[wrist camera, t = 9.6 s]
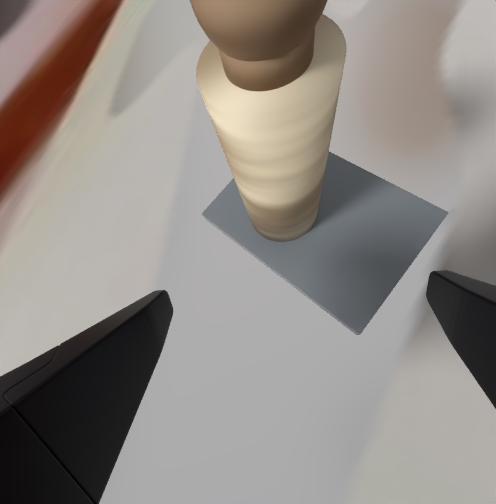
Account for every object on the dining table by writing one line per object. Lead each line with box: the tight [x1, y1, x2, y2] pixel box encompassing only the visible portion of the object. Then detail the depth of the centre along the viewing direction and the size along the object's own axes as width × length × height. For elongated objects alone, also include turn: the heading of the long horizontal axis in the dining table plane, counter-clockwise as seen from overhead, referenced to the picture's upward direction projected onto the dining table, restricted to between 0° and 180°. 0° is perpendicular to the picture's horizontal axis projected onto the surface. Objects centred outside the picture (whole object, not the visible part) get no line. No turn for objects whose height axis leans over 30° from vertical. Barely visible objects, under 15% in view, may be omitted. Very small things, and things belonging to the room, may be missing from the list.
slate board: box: [202, 151, 448, 335], centre depth 19 cm, size 14×10×1 cm
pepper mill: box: [190, 0, 346, 242], centre depth 12 cm, size 5×5×15 cm
